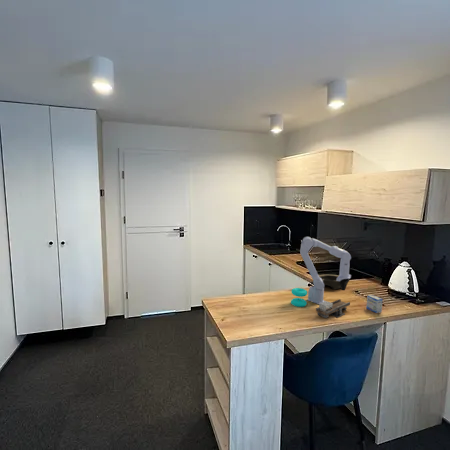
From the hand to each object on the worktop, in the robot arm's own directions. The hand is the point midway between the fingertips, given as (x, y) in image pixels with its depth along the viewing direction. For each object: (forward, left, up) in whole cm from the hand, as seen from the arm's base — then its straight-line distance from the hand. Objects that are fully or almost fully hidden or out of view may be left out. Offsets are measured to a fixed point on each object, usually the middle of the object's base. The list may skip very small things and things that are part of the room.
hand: (343, 289), depth 200 cm
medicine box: (+18, +6, -10) cm, 21 cm away
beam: (+5, -19, -8) cm, 21 cm away
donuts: (-16, -25, -10) cm, 31 cm away
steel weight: (+5, -27, -6) cm, 28 cm away
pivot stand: (+5, -15, -9) cm, 18 cm away
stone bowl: (-27, +28, -10) cm, 40 cm away
